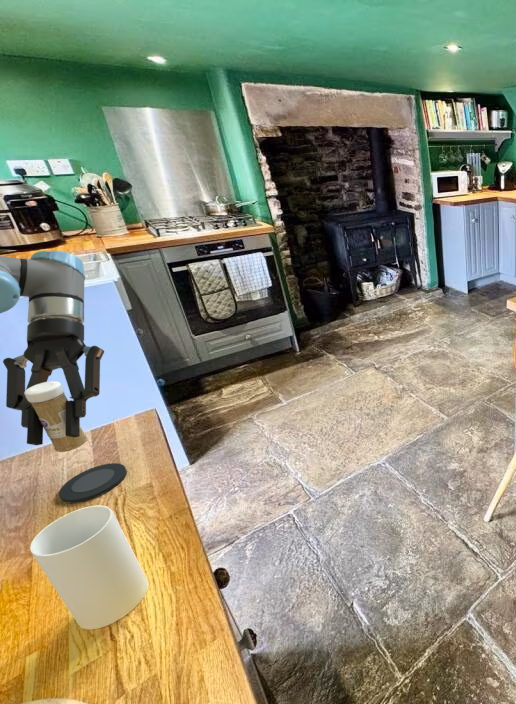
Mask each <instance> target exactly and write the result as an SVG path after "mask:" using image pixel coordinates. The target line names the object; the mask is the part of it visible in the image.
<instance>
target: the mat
mask: <svg viewBox="0 0 516 704" xmlns="http://www.w3.org/2000/svg"><path fill="white" fill-rule="evenodd" d="M127 474H128V470H127V468H126V466H125V465H123V464H121V463H118V462H117V463H116V462H113V463H104V464H101V465H97V466H93V467H91V468H88V469H86V470H84V471H82V472H80V473H79V474H76V475H75V476H73V477H71V478H70V479H69V480H67V482H65V483H64V484H63V485H62V487H61V488H60V489H59V491H58V496H59V498H60V500H61V501H63V502H64V503H68V504H75V503H82V502H87V501H90V500H93V499H96V498H98V497H100V496H102V495H105V494H107V493H108V492H110V491H111V490H113V489H114V488H116V487H117V486H118V485H120V484H121V483H122V482H123V481H124V479H125V478H126V477H127Z"/></svg>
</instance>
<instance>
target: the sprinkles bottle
mask: <svg viewBox="0 0 516 704" xmlns="http://www.w3.org/2000/svg"><path fill="white" fill-rule="evenodd" d="M24 394H25V396H26V398H27V400H28V401H29V402H30V403H31V404H32V406H33V407H34V409H35V411H36V413H37V415H38V416H39V420H40V422H41V423H42V425H43V430H44V431H45V433H46V435H47V437H48V439H49V440H50V441H51V443H52V446H53V449H54V450H55V452H58V453H65V452H71V451H74V450H75V449H76V450H77V449H78V448H80V447H82V446H83V445H84V444H86V442H87V441H88V436H87V435H85V432H84V430H83V429H82V425H81V424H80V436H79V437H70V436H65V435H66V401H69V400H68V398H67V395H66V393H65V388H64V386H63V385H62V383H61V381H57V380H50V381H49V380H48V381H47V382H44V383H40V384H37V385H34V386H32V387H30V388H28V389H27V390H26V389H25V392H24Z"/></svg>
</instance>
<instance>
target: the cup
mask: <svg viewBox="0 0 516 704" xmlns="http://www.w3.org/2000/svg"><path fill="white" fill-rule="evenodd" d="M29 549H30V553H31V555H32V557H33V558H34V559H35V561H36V563H37V564H38V565H39V567H40V569H41V570H42V572H43V573H44V574H45V576H46V578H47V579H48V582H50V584H51V585H52V587H53V588H54V590H55V591H56V593H57V594H58V596H59V598H60V599H61V601H62V602H63V603H64V605H65V606H66V608H67V609H68V611H69V612H70V615H72V618H74V620H75V622H76V623H77V624H78V626H79V628H81V629H84V630H88V631H89V630H98V629H101V628H104V627H107V626H110V625H112V624H114V623H116V622H118V621H119V620H121V619H122V618H124V617H125V616H127V615H128V614H130V613H131V612H132V611H133V610H134V609H135V608H136V607H137V606H138V605H139V604H140V603H141V602H142V601H143V599H144V598H145V596H146V595H147V593H148V590H149V585H150V584H149V580H148V578H147V576H146V574H145V572H144V570H143V568H142V566H141V564H140V562H139V561H138V558H137V556H136V554H135V553H134V550H133V548H132V547H131V544H130V542H129V541H128V539H127V537H126V534H125V533H124V531H123V529H122V526H121V524H120V522H119V521H118V519H117V516H116V514H115V513H114V510H112V509H111V508H110V507H109V506H108V505H107V506H106V505H101V504H100V505H99V504H98V505H89V506H86V507H81V508H79V509H76V510H73V511H71V512H69V513H67V514H65V515H62V516H61V517H59V518H57V519H56V520H54V521H52V522H51V523H49V524H47V526H45V527H44V528H43V529H41V530H40V531H39V532H38V533H37V534H36V536H35V537H34V538H33V540H32V541H31V543H30V545H29Z"/></svg>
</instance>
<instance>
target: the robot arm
mask: <svg viewBox="0 0 516 704" xmlns="http://www.w3.org/2000/svg"><path fill="white" fill-rule="evenodd" d="M85 280H86V276H85V268H84V262H83V261H82V259H81V258H80V257H78V256H76V255H75V254H73V253H70V252H67V251H62V250H52V251H51V250H40V251H37V252H35V253H33V254H32V255H31V256H30V258H18V257H10V256H4V255H0V314H4V313H6V312H8V311H9V310H11V309H13V308H14V307H15V306H16V305H17V304H18V302H19V300H20V298H21V297H23V298H28V308H27V309H28V310H27V321H26V322H27V323H28V324H27V326H26V327H27V328H26V343H27V347H26V349H25V350H24V351H23V354H21V355H18V356H16V357H13V358H12V357H6V358H4V359H3V360H2V363H3V365H4V367H5V368H6V400H5V401H6V402H5V406H6V407H7V408H8V409H12V410H15V411H21V418H20V426H21V427H22V428H25V429H26V430H27V431H26V444H27V445H31V446H32V445H33V446H42V445H43V444H44V427H43V425H42V423H41V422H40V420H39V416H38V415H37V413H36V411H35V409H34V407H33V406H32V404H31V403H30V402H29V401H28V400H27V398H26V396H25V394H24V392H25V391H26V390H27V389H28V388H30V387H32V386H34V385H37V384H40V383H44V382H48V381H49V377H51V376H52V373H53V371H56V370H57V369H61V370H62V371H63V375H64V379H65V382H66V385H67V387H68V390H69V394H70V396H69V399H71V400H68V401H66V435H65V436H70V437H79V436H80V425H81V422H80V421H81V419H82V418H85V417H86V416H87V401H88V400H89V399H91V398H93V397H95V398H96V397H98V396H99V395H100V392H101V391H100V390H101V389H100V385H101V360H102V357H103V356H104V354H105V350H104V349H102V348H100V347H99V346H97V345H92V346H89V345H88V346H87V345H86V344H85V342H84V341H85V325H84V322H85ZM83 355H84V356H85V361H84V362H85V363H84V364H85V365H84V384H83V380H82V377H81V374H80V371H79V370H80V368H79V364H78V361H79V360H80V358H81V357H82V356H83ZM28 361H29V362H31V364H32V365H31V368H30V372H31V374H30V376H29V380H28V382H27V385H26V369H25V368H27V362H28Z"/></svg>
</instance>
